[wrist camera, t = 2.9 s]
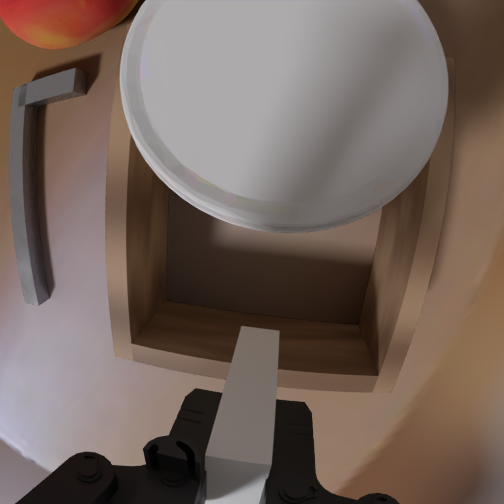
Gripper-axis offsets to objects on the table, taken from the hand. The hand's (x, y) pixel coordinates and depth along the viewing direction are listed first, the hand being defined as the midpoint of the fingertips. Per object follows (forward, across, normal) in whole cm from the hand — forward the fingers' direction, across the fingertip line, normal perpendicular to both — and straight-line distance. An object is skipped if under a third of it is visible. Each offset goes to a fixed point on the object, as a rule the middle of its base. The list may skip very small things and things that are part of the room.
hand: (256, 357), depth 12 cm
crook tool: (+9, -17, +5) cm, 20 cm away
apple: (+9, -14, +20) cm, 25 cm away
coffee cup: (+9, 0, +10) cm, 14 cm away
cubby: (+9, 0, +6) cm, 10 cm away
